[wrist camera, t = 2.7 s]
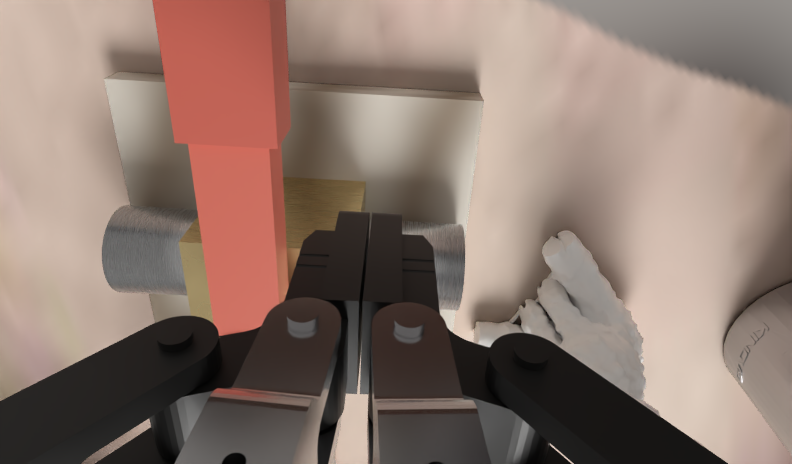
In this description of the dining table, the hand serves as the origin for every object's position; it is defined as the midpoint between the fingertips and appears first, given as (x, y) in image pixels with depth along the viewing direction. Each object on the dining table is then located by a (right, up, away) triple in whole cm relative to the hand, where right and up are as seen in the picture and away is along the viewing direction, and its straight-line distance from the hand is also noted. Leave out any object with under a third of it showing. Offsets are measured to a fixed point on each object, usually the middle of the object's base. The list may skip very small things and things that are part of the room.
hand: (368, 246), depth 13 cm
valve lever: (-4, +1, +7) cm, 8 cm away
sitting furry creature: (+11, -4, +20) cm, 24 cm away
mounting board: (-5, +1, +17) cm, 18 cm away
